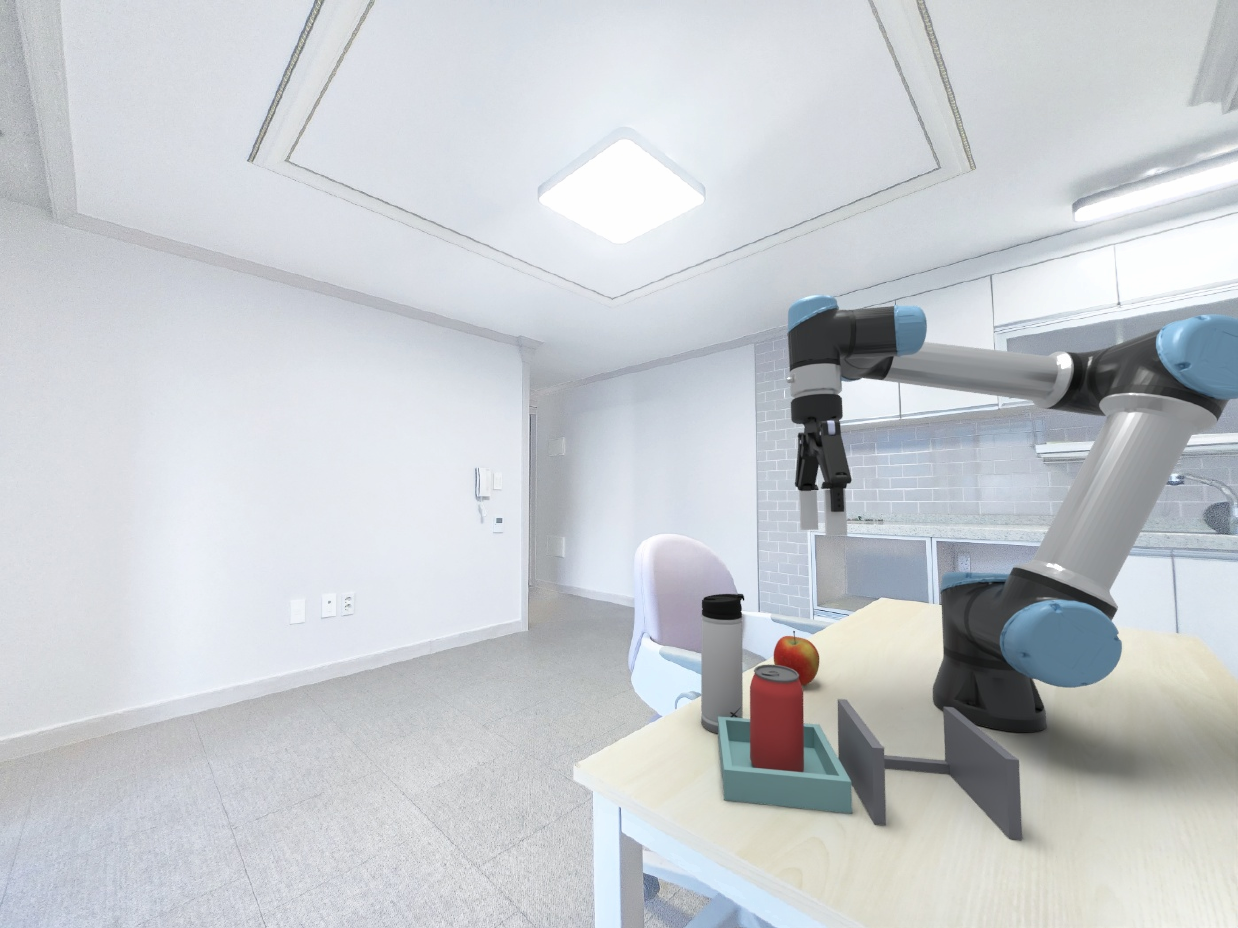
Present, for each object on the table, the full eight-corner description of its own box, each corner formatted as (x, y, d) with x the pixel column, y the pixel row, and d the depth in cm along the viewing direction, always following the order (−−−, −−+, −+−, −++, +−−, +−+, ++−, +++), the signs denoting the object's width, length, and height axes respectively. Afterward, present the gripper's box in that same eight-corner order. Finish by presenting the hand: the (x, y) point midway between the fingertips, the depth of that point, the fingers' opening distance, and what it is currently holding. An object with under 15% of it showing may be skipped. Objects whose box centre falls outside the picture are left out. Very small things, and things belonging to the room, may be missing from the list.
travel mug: (746, 737, 71) (745, 598, 73) (700, 732, 73) (700, 596, 74) (743, 718, 77) (743, 591, 79) (701, 714, 79) (702, 589, 80)
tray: (819, 749, 68) (819, 724, 68) (851, 813, 54) (851, 781, 55) (717, 740, 70) (718, 716, 70) (724, 799, 56) (724, 769, 57)
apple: (827, 684, 92) (827, 631, 93) (805, 695, 87) (805, 638, 87) (789, 672, 98) (788, 622, 99) (766, 682, 93) (765, 628, 94)
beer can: (743, 754, 65) (743, 662, 66) (790, 753, 66) (790, 662, 67) (761, 783, 59) (760, 681, 60) (813, 781, 59) (812, 680, 60)
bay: (955, 770, 63) (953, 707, 64) (1022, 839, 50) (1018, 759, 51) (838, 760, 65) (837, 698, 66) (874, 824, 53) (872, 747, 53)
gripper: (774, 411, 89) (779, 527, 88) (813, 378, 65) (820, 539, 63) (817, 410, 89) (822, 527, 87) (872, 376, 64) (881, 538, 62)
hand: (821, 532), depth 75 cm, fingers open, 13 cm apart
